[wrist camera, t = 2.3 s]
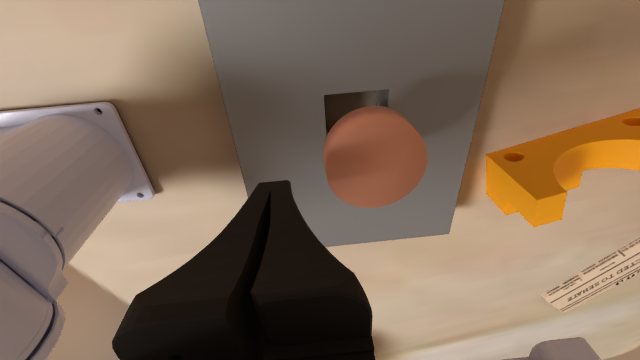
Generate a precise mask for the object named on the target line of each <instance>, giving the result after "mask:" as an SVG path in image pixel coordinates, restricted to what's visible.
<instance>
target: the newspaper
mask: <svg viewBox="0 0 640 360" xmlns="http://www.w3.org/2000/svg"><path fill="white" fill-rule="evenodd" d="M638 273H640V238H639V239H637V240H635V241H633V242H632V243H630V244H628V245H627V246H625V247H623V248H621V249H620V250H618V251H616V252H614V253H613V254H611V255H609V256H608V257H606V258H604V259H602V260H601V261H599V262H597V263H596V264H594V265H592V266H590V267H589V268H587V269H585V270H583V271H582V272H580V273H578V274H577V275H575V276H573V277H571V278H570V279H568V280H566V281H565V282H563V283H561V284H559V285H558V286H556V287H554V288H552V289H551V290H549V291H547V292H546V293H544V294H542V297H543V298H544V299H545V300H546V301H548V302H549V303H550V304H551V305H552V306H554V307H555V308H556V309H558V310H559V311H561V312H563V313H566V312H568V311H569V310H571V309H573V308H575V307H577V306H579V305H581V304H583V303H584V302H586V301H588V300H590V299H592V298H594V297H596V296H597V295H599V294H601V293H603V292H605V291H607V290H609V289H610V288H612V287H614V286H616V285H618V284H620V283H622V282H623V281H625V280H627V279H629V278H631V277H633V276H635V275H637V274H638Z"/></svg>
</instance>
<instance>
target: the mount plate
mask: <svg viewBox="0 0 640 360" xmlns="http://www.w3.org/2000/svg"><path fill="white" fill-rule="evenodd" d="M504 1H505V0H198V2H199V6H200V10H201V14H202V18H203V22H204V26H205V30H206V34H207V37H208V41H209V45H210V49H211V53H212V57H213V61H214V65H215V69H216V73H217V77H218V81H219V85H220V89H221V93H222V97H223V101H224V104H225V108H226V112H227V116H228V120H229V124H230V128H231V132H232V136H233V140H234V144H235V148H236V152H237V156H238V160H239V164H240V168H241V171H242V175H243V179H244V183H245V187H246V191H247V195H248V198H249V196H250V195H251V193H252V192H253V190H254V189H255V187H256V186H257V185H258V183H261V182H271V181H282V180H288V181H290V182H291V189H292V195H293V198H294V200H295V203H296V205H297V207H298V209H299V211H300V213H301V215H302V217H303V218H304V220H305V222H306V223H307V225H308V226H309V228H310V229H311V231H312V232H313V233H314V235H315V236H316V237H317V238H318V240H319V241H320V242H321V243H322V244H323V245H324V246H325V247H330V246H339V245H349V244H358V243H368V242H377V241H387V240H396V239H406V238H415V237H425V236H434V235H444V234H449V232H450V228H451V223H452V219H453V215H454V211H455V207H456V202H457V198H458V194H459V190H460V186H461V181H462V177H463V173H464V169H465V165H466V161H467V156H468V152H469V148H470V144H471V140H472V135H473V131H474V127H475V123H476V119H477V114H478V110H479V106H480V102H481V98H482V93H483V89H484V85H485V81H486V77H487V73H488V68H489V64H490V60H491V56H492V52H493V47H494V43H495V39H496V35H497V31H498V26H499V22H500V18H501V14H502V10H503V5H504ZM374 90H377V101H376V106H384V107H388V108H391V109H393V110H396V111H397V112H399V113H401V114H402V115H403V116H404V117H405V118H406V119H407V120H408V121H409V122H410V124H411V125H412V126H413V127H414V128H415V130H416V131H417V132H418V133H419V135H420V136H421V137H422V139H423V140H424V143H425V145H426V148H427V154H428V160H427V166H426V170H425V173H424V175H423V177H422V179H421V180H420V182H419V183H418V185H417V186H416V187H415V188H414V189H413V190H412V191H411V192H410V193H409V194H408V195H406V196H405V197H403V198H402V199H400V200H398V201H396V202H394V203H392V204H389V205H386V206H382V207H376V208H362V207H357V206H353V205H350V204H348V203H346V202H344V201H343V200H341V199H340V198H339V197H337V196H336V194H335V193H334V192H333V191H332V189H331V188H330V186H329V183H328V180H327V176H326V170H325V164H324V158H323V147H324V142H325V139H326V137H327V134H326V122H325V106H324V95H331V94H342V93H352V92H363V91H374Z"/></svg>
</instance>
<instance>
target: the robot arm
mask: <svg viewBox="0 0 640 360" xmlns="http://www.w3.org/2000/svg"><path fill="white" fill-rule="evenodd" d="M97 108H99V109H101V111H102V113H100V112H98V110H97ZM140 193H142V194H143V195H141V194H140ZM154 194H155V192H154V189H153V187H152V185H151V183H150V181H149V179H148V177H147V174H146V172H145V170H144V168H143V166H142V164H141V162H140V159H139V157H138V155H137V153H136V151H135V149H134V147H133V144H132V142H131V140H130V138H129V136H128V134H127V132H126V129H125V127H124V125H123V123H122V121H121V119H120V117H119V114H118V112H117V110H116V108H115V107H114V105H112V104H111V103H109V102H98V103H87V104H76V105H65V106H54V107H43V108H32V109H21V110H10V111H0V360H47V358H48V357H49V355H50V353H51V352H52V350H53V348H54V347H55V345H56V343H57V341H58V339H59V337H60V335H61V332H62V330H63V327H64V323H65V312H64V310H63V308H62V306H61V305H60V304H59V303H57V302H56V300H57V298H58V297H59V296H60V294H61V293H62V291H63V290H64V289H65V287H66V286H67V285H68V283H69V282H68V281H67V280H66V278H65V277H64V275H63V274H62V270H63V269H64V268H65V267H66V265H67V264H68V263H69V261H70V260H71V259H72V258H73V256H74V255H75V254H76V253H77V251H78V250H79V249H80V248H81V246H82V245H83V244H84V243H85V241H86V240H87V239H88V238H89V236H90V235H91V234H92V232H93V231H94V230H95V229H96V227H97V226H98V225H99V224H100V222H101V221H102V220H103V219H104V217H105V216H106V215H107V214H108V212H109V211H110V210H111V209H112V207H113V206H114V205H115V203H116V202H126V201H136V200H146V199H151V198H153V196H154ZM371 332H372V310H371V306H370V304H369V301H368V298H367V296H366V294H365V292H364V290H363V288H362V286H361V284H360V282H359V281H358V279H357V277H356V276H355V274H354V273H353V272H352V271H350V270H349V269H348V268H347V267H345V266H344V265H343V264H342V263H341V262H339V261H338V260H337V259H336V258H335V257H334V256H333V255H332V254H331V253H330V252H329V251H328V250H327V249H326V248H325V246H324V245H323V244H322V243H321V242H320V241H319V240H318V238H317V237H316V236H315V235H314V233H313V232H312V231H311V229H310V228H309V226H308V225H307V223H306V222H305V220H304V218H303V217H302V215H301V213H300V211H299V209H298V207H297V205H296V203H295V200H294V198H293V195H292V189H291V182H290V181H288V180H282V181H271V182H261V183H258V185H257V186H256V187H255V189H254V190H253V192H252V193H251V195H250V196H249V198H248V199H247V201H246V202H245V204H244V205H243V206H242V208H241V209H240V210H239V212H238V213H237V214H236V216H235V217H234V218H233V219H232V220H231V222H230V223H229V224H228V225H227V226H226V227H225V229H224V230H223V231H222V232H221V233H220V234H219V235H218V236H217V237H216V238H215V239H214V240H213V241H212V242H211V243H210V244H209V245H207V246H206V247H205V248H204V249H203V250H201V251H200V252H199V253H198V254H197V255H196V256H194V257H193V258H192V259H191V260H189V261H188V262H187V263H185V264H184V265H183V266H181V267H180V268H179V269H177V270H176V271H174V272H173V273H171V274H170V275H168V276H167V277H165V278H164V279H162V280H161V281H159V282H157V283H156V284H154V285H152V286H151V287H149V288H147V289H146V290H144V291H142V292H141V293H139V294H137V295H136V296H135V298H134V299H133V301H132V303H131V305H130V306H129V308H128V310H127V312H126V314H125V316H124V319H123V320H122V322H121V324H120V326H119V328H118V330H117V332H116V334H115V337H114V339H113V341H112V345H113V346H112V347H113V350H114V352H115V353H116V355H117V356H118V358H119V359H120V360H375V356H374V345H373V340H372V335H371ZM504 360H601V359H600V357H599V356H598V355H597V354H596V353H595V351H594V350H593V349H592V348H591V346H590V345H589V344H588V343H587V341H586V340H585V339H584V338H581V337H577V338H568V339H558V340H549V341H544V342H541V343H539V344H537V345H535V346H534V347H533V348H532V350H531V352H530V355H529V357H522V358H513V359H504Z"/></svg>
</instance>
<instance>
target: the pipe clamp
mask: <svg viewBox="0 0 640 360" xmlns="http://www.w3.org/2000/svg"><path fill="white" fill-rule="evenodd" d="M595 168H624V169H633V170H639V171H640V109H636V110H633V111H629V112H626V113H623V114H619V115H616V116H613V117H609V118H606V119H603V120H600V121H596V122H593V123H590V124H586V125H583V126H580V127H576V128H573V129H570V130H566V131H563V132H560V133H556V134H553V135H550V136H546V137H543V138H540V139H536V140H533V141H530V142H526V143H523V144H520V145H516V146H513V147H510V148H506V149H503V150H500V151H496V152H493V153H490V154H487V155H486V194H487V195H488V196H489V197H490V198H491V199H492V201H493V202H494V203H495V204H496V205H497V206H498V207H499V208H500V209H501V210H502V212H503V213H504V214H505V215H508V214H512V213H516V212H519V213H520V214H521V215H522V216H523V217H524V218H525V219H526V220H527V221H528V222H529V223H530V224H531V225H532V226H533V227H536V226H540V225H544V224H547V223H551V222H555V221H558V220H562V216H563V211H564V206H565V201H566V196H567V190H570V189H573V188H577V187H579V185H580V180H581V176H582V172H583V170H587V169H595Z"/></svg>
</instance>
